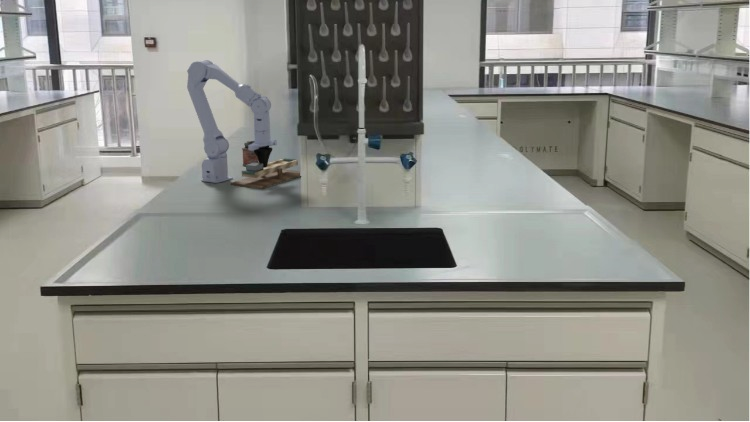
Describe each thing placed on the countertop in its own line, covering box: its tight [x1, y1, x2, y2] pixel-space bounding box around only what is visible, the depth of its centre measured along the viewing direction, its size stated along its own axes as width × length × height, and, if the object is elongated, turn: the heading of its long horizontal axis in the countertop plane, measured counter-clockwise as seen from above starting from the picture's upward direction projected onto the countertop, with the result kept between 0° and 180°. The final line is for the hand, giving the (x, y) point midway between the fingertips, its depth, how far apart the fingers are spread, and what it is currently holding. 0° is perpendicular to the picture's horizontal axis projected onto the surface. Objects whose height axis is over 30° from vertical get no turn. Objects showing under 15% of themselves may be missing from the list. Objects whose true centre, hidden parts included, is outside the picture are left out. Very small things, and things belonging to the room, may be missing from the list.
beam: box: [241, 157, 299, 178], centre depth 270 cm, size 27×7×2 cm, turn 152°
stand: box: [230, 168, 301, 190], centre depth 271 cm, size 30×14×4 cm, turn 152°
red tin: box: [241, 140, 259, 167], centre depth 299 cm, size 8×3×10 cm, turn 143°
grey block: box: [245, 162, 263, 172], centre depth 262 cm, size 5×4×3 cm
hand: (263, 167), depth 266 cm, fingers closed
